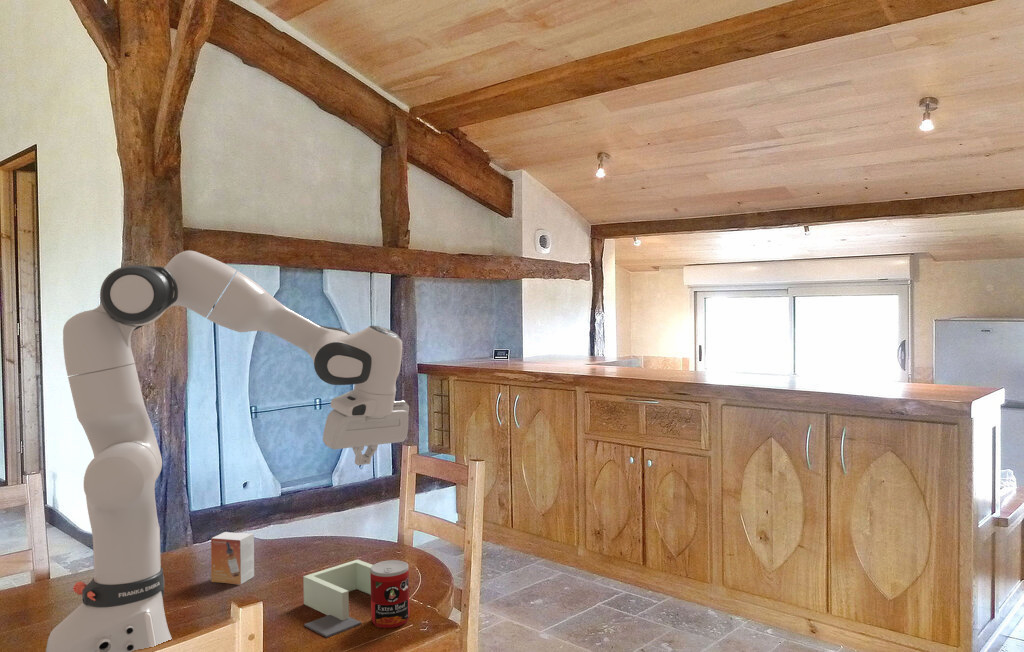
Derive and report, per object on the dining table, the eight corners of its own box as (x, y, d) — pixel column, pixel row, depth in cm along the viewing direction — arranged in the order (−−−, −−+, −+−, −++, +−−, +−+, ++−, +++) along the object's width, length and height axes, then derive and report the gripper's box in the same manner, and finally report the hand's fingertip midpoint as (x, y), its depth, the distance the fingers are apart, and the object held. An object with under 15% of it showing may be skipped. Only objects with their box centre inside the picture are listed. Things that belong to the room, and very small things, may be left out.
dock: (342, 622, 146) (342, 592, 146) (303, 604, 156) (303, 576, 155) (397, 601, 156) (397, 573, 156) (358, 585, 166) (357, 559, 166)
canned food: (373, 631, 142) (371, 575, 141) (369, 615, 149) (368, 562, 149) (412, 625, 144) (411, 570, 143) (407, 610, 151) (406, 558, 151)
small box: (210, 582, 169) (209, 538, 169) (225, 574, 175) (224, 531, 174) (241, 585, 167) (240, 540, 167) (255, 576, 173) (254, 532, 173)
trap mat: (326, 637, 139) (326, 635, 139) (304, 626, 144) (304, 624, 144) (361, 624, 145) (361, 622, 145) (338, 613, 150) (338, 611, 150)
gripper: (401, 396, 164) (390, 454, 166) (324, 399, 149) (313, 463, 150) (419, 404, 160) (408, 463, 162) (342, 409, 145) (330, 474, 146)
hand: (362, 463), depth 156 cm, fingers closed
